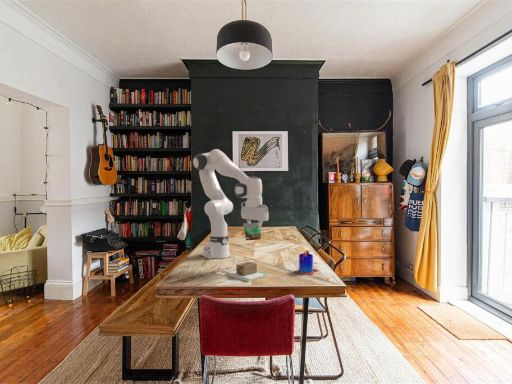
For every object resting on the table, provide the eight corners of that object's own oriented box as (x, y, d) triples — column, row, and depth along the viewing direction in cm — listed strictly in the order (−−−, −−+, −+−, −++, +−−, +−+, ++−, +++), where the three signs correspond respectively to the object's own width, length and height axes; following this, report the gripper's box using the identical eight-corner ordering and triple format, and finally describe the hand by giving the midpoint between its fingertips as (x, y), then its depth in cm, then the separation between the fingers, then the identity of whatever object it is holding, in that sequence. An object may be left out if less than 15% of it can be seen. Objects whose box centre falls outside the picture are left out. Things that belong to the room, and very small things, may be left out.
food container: (249, 241, 176) (247, 223, 177) (243, 240, 182) (242, 223, 182) (267, 238, 183) (265, 221, 183) (261, 237, 188) (260, 221, 188)
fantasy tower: (312, 275, 168) (312, 253, 167) (292, 272, 173) (292, 251, 173) (319, 270, 178) (319, 249, 178) (299, 267, 184) (299, 247, 183)
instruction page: (214, 273, 172) (214, 272, 172) (225, 269, 179) (225, 269, 179) (223, 275, 169) (223, 274, 169) (233, 271, 176) (233, 270, 176)
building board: (226, 274, 170) (226, 271, 170) (245, 269, 179) (245, 267, 179) (248, 281, 157) (248, 279, 157) (267, 276, 167) (267, 273, 167)
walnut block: (236, 273, 167) (236, 264, 167) (248, 270, 174) (248, 261, 174) (244, 276, 163) (244, 266, 163) (256, 272, 169) (256, 263, 169)
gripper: (271, 204, 177) (271, 228, 178) (246, 203, 192) (246, 225, 192) (263, 205, 173) (263, 229, 173) (239, 203, 187) (239, 226, 188)
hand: (254, 227), depth 183 cm, fingers closed on food container, 6 cm apart
